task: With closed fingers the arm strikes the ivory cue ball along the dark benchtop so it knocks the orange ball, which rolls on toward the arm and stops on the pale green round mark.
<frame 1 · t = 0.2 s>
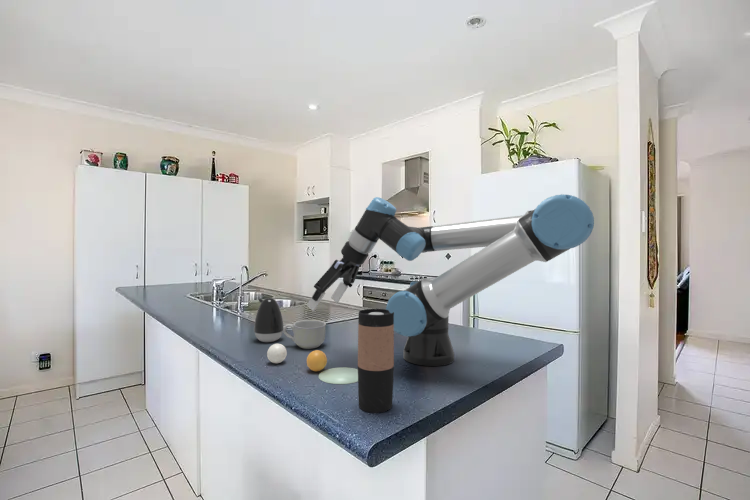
hand: (323, 304, 114), 16 cm above the counter, tool tilted 35°, fingers open, 13 cm apart
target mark: (341, 375, 97), on the counter
teacup: (304, 347, 125), on the counter
black and grey ovoid: (268, 341, 132), on the counter
travel mug: (375, 406, 79), on the counter
cue ball: (276, 353, 107), on the counter
orange ball: (316, 360, 101), on the counter
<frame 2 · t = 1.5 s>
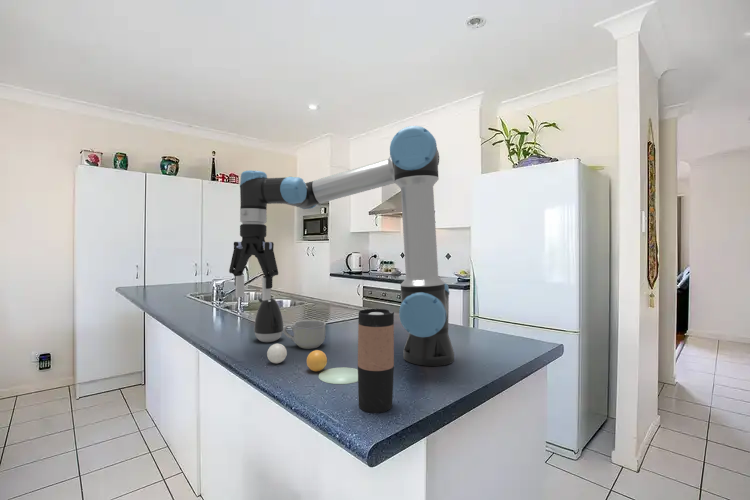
hand: (252, 298, 111), 18 cm above the counter, tool pointing down, fingers open, 10 cm apart
nothing on the counter moved.
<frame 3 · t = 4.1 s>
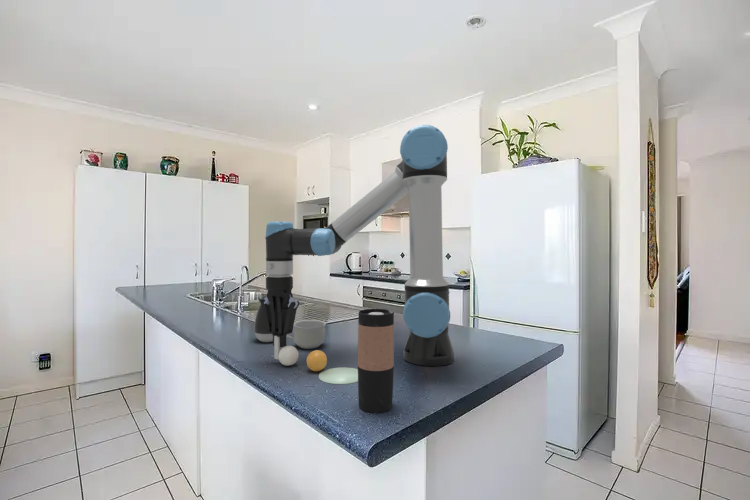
hand: (279, 357, 107), 2 cm above the counter, tool pointing down, fingers closed
cue ball: (288, 355, 105), on the counter
everything else where it was.
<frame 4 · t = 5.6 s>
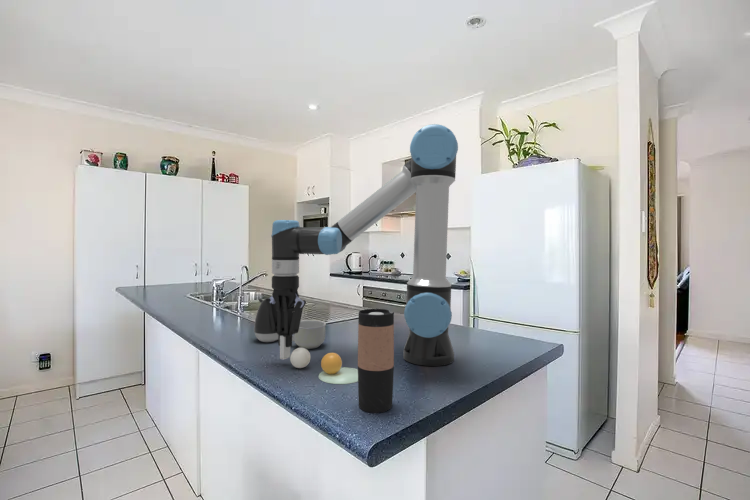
hand: (285, 357, 106), 2 cm above the counter, tool pointing down, fingers closed
cue ball: (300, 357, 103), on the counter
orange ball: (331, 363, 99), on the counter
everything else where it was.
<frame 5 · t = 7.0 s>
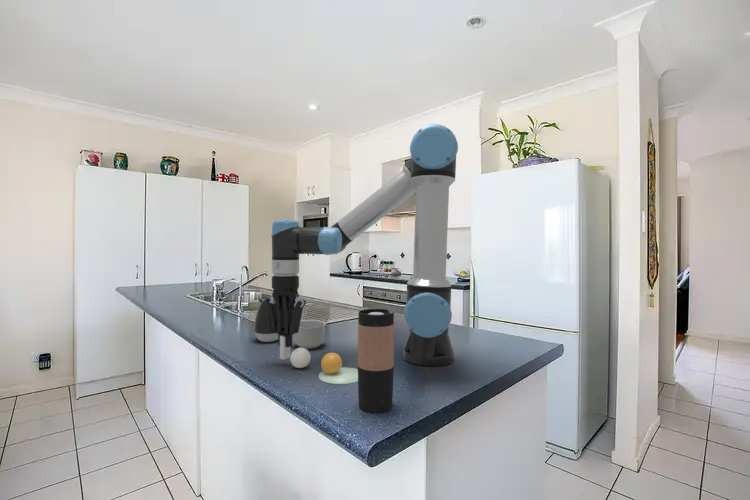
hand: (285, 357, 106), 2 cm above the counter, tool pointing down, fingers closed
nothing on the counter moved.
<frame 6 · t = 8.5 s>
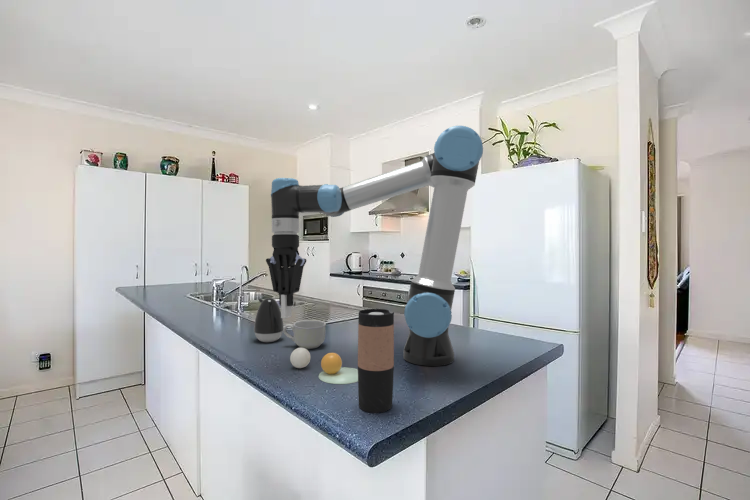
hand: (286, 317, 106), 13 cm above the counter, tool pointing down, fingers closed
nothing on the counter moved.
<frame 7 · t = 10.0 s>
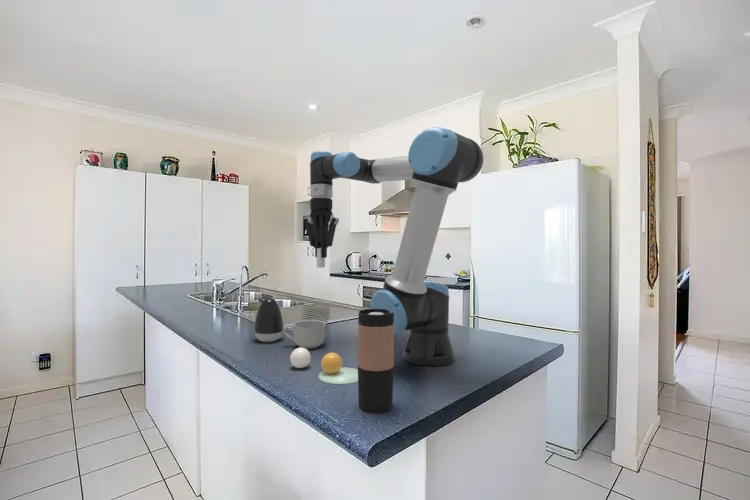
hand: (320, 267, 127), 26 cm above the counter, tool pointing down, fingers closed
nothing on the counter moved.
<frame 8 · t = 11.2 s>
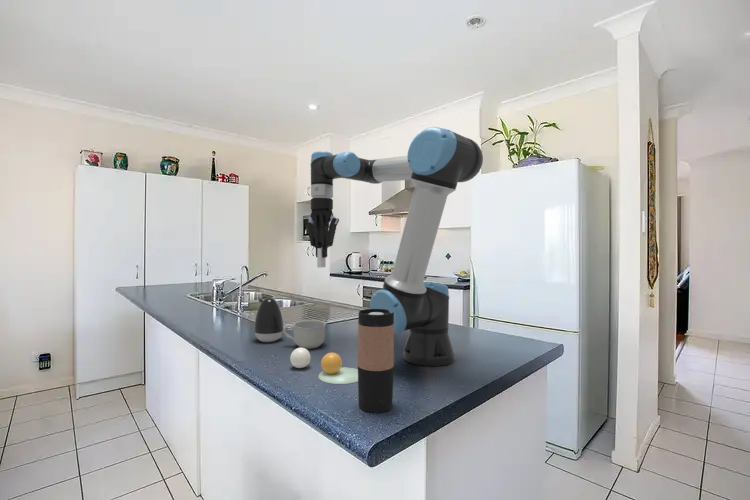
hand: (321, 267, 128), 26 cm above the counter, tool pointing down, fingers closed
nothing on the counter moved.
at the end: orange ball 3.2 cm from the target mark (horizontally); orange ball never touched the robot; cue ball first touched orange ball at 4.3 s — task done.
